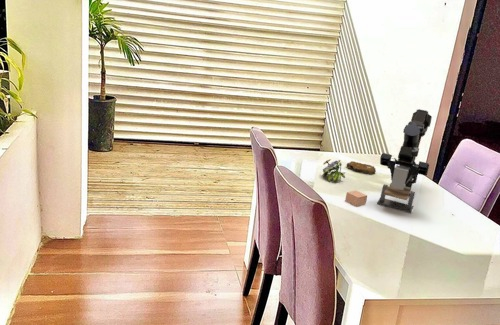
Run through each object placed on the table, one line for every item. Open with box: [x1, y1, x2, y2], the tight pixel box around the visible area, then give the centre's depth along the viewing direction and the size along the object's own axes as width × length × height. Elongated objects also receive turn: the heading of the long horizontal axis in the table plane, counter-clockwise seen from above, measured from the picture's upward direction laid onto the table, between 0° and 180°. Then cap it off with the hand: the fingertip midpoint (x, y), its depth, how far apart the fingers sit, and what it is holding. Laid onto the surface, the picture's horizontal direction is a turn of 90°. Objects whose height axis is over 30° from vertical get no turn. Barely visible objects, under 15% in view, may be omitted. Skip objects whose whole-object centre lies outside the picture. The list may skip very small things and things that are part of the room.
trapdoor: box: [384, 182, 411, 201], centre depth 191 cm, size 13×9×2 cm
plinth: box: [344, 190, 368, 207], centre depth 194 cm, size 6×6×4 cm
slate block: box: [390, 164, 409, 190], centre depth 186 cm, size 5×5×8 cm
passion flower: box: [321, 158, 346, 183], centre depth 220 cm, size 11×11×12 cm
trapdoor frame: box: [376, 183, 416, 214], centre depth 195 cm, size 7×14×8 cm, turn 65°
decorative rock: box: [346, 160, 376, 175], centre depth 241 cm, size 11×4×15 cm
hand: (398, 181), depth 185 cm, fingers closed on slate block, 5 cm apart
